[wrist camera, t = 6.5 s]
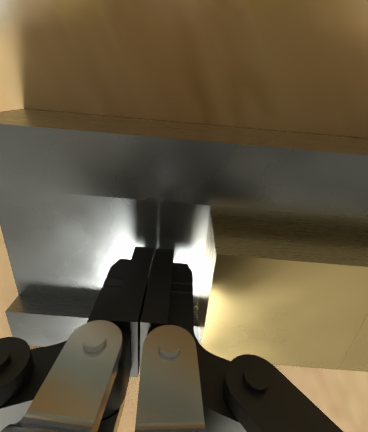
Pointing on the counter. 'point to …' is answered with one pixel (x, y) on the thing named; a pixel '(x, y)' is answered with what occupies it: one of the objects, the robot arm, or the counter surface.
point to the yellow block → (281, 288)
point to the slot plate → (146, 199)
